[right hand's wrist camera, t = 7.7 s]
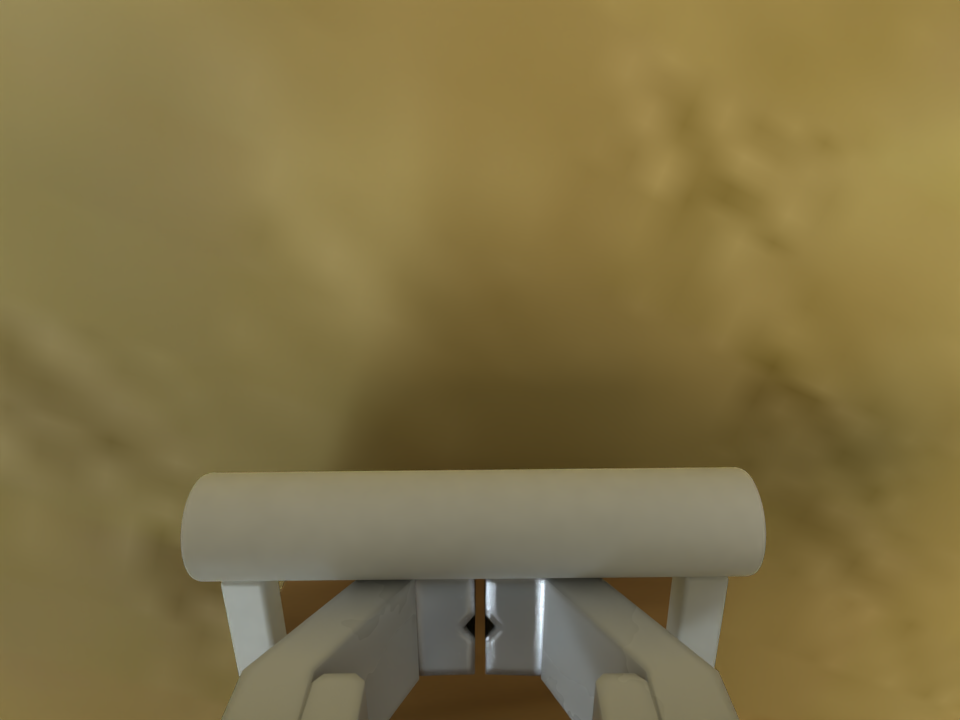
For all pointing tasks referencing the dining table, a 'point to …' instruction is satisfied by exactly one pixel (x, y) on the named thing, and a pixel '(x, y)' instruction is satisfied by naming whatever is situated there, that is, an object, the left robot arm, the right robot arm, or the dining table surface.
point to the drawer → (473, 552)
